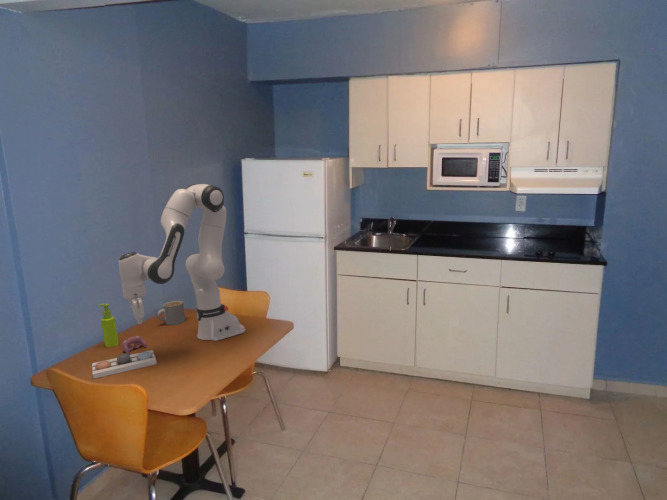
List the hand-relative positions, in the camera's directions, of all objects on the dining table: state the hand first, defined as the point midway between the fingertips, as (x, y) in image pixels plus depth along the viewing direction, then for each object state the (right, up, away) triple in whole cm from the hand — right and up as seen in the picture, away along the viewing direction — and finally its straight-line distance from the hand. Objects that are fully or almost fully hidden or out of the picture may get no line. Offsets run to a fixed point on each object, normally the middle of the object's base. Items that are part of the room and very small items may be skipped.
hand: (139, 322), depth 204 cm
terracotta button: (-13, -19, -6) cm, 23 cm away
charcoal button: (-6, -16, -2) cm, 17 cm away
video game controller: (-8, -15, +15) cm, 23 cm away
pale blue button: (+2, -16, +1) cm, 16 cm away
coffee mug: (-3, -7, +49) cm, 49 cm away
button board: (-5, -18, -2) cm, 19 cm away
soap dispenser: (-23, -14, +23) cm, 35 cm away
